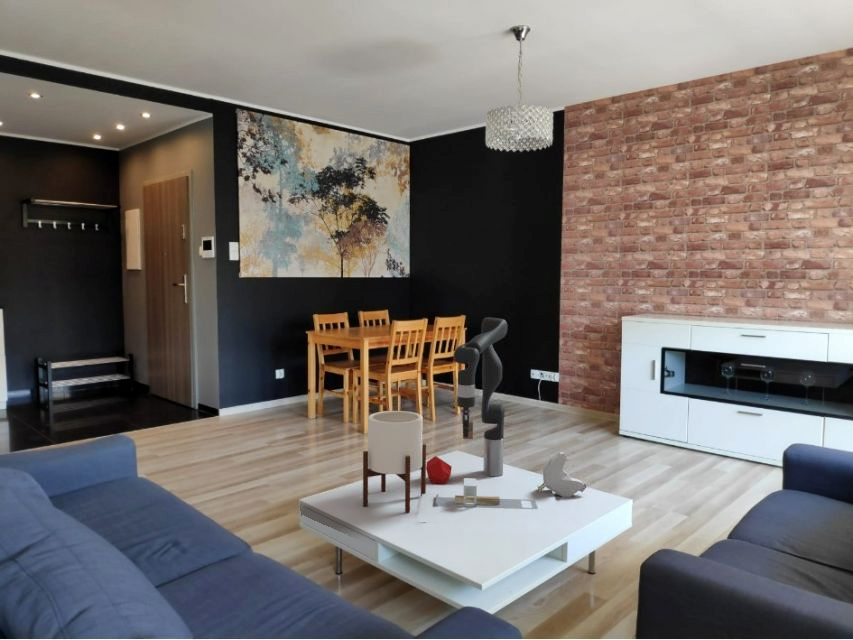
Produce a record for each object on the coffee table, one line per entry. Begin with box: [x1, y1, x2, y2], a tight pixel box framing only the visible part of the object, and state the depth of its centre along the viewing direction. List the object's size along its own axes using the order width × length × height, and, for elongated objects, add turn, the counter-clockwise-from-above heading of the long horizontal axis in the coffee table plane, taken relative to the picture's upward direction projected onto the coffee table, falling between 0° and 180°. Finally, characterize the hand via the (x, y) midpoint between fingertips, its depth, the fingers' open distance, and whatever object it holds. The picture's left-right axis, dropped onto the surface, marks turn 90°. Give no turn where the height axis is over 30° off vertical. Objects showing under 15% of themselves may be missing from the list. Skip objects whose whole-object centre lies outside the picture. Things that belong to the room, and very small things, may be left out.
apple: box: [426, 455, 452, 486], centre depth 274 cm, size 12×12×15 cm
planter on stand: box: [362, 410, 427, 514], centre depth 248 cm, size 22×22×36 cm
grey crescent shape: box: [537, 451, 587, 497], centre depth 258 cm, size 7×19×20 cm
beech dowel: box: [454, 495, 501, 505], centre depth 244 cm, size 2×18×2 cm, turn 87°
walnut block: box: [462, 419, 474, 440], centre depth 250 cm, size 4×4×7 cm
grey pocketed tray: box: [434, 477, 539, 510], centre depth 244 cm, size 10×41×10 cm, turn 87°
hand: (465, 435), depth 251 cm, fingers closed on walnut block, 4 cm apart
